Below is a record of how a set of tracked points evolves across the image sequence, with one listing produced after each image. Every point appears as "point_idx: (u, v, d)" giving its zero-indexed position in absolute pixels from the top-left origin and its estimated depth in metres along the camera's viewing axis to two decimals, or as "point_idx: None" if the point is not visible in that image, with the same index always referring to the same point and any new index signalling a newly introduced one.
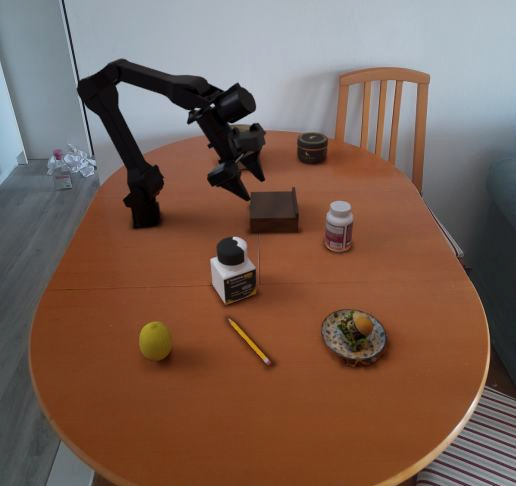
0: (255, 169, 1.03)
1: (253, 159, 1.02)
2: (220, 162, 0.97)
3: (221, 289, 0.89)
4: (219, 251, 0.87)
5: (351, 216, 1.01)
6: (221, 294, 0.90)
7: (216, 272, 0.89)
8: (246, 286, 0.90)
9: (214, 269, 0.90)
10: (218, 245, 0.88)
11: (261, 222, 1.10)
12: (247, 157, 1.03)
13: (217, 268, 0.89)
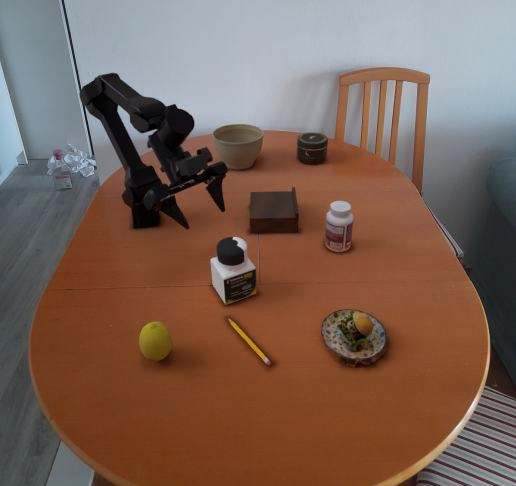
0: (216, 198, 0.96)
1: (214, 187, 0.95)
2: None
3: (221, 289, 0.89)
4: (219, 251, 0.87)
5: (351, 216, 1.01)
6: (221, 294, 0.90)
7: (216, 272, 0.89)
8: (246, 286, 0.90)
9: (214, 269, 0.90)
10: (218, 245, 0.88)
11: (261, 222, 1.10)
12: (210, 184, 0.96)
13: (217, 268, 0.89)
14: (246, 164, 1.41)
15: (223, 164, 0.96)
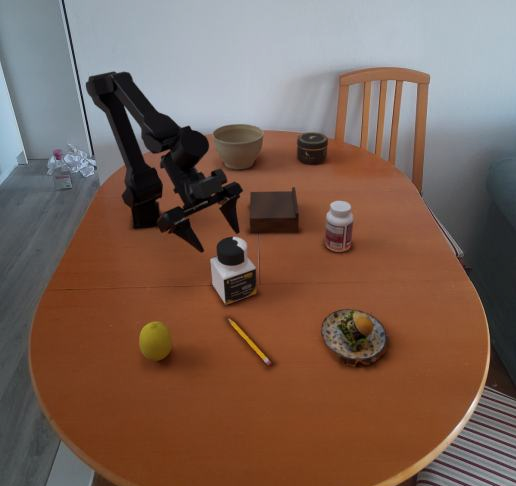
0: (230, 219, 0.94)
1: (228, 208, 0.94)
2: (184, 208, 0.92)
3: (221, 289, 0.89)
4: (219, 251, 0.87)
5: (351, 216, 1.01)
6: (221, 294, 0.90)
7: (216, 272, 0.89)
8: (246, 286, 0.90)
9: (214, 269, 0.90)
10: (218, 245, 0.88)
11: (261, 222, 1.10)
12: (223, 205, 0.95)
13: (217, 268, 0.89)
14: (246, 164, 1.41)
15: (237, 185, 0.94)
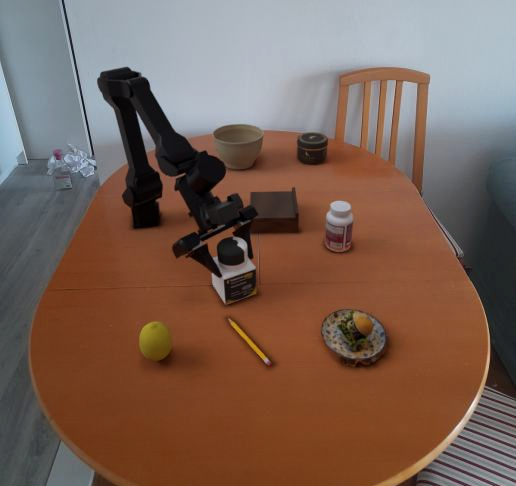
0: None
1: (241, 233, 0.92)
2: (199, 232, 0.91)
3: (221, 289, 0.89)
4: (219, 251, 0.87)
5: (351, 216, 1.01)
6: (221, 294, 0.90)
7: None
8: (246, 286, 0.90)
9: None
10: (218, 245, 0.88)
11: (261, 222, 1.10)
12: (237, 230, 0.93)
13: None
14: (246, 164, 1.41)
15: (253, 208, 0.93)
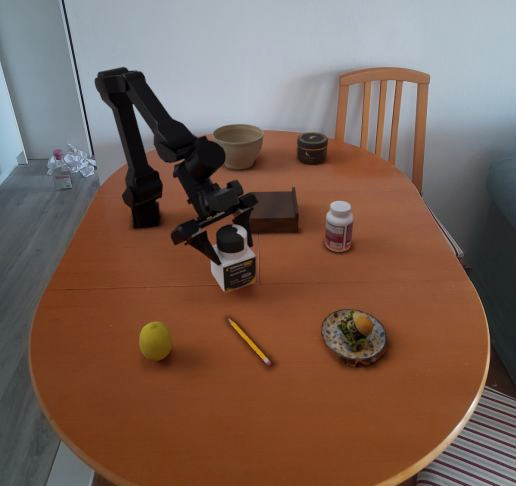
0: None
1: (241, 221, 0.91)
2: (198, 219, 0.90)
3: (220, 277, 0.88)
4: (218, 238, 0.85)
5: (351, 216, 1.01)
6: (220, 282, 0.89)
7: None
8: (246, 275, 0.89)
9: None
10: (217, 232, 0.86)
11: (261, 222, 1.10)
12: (236, 218, 0.92)
13: None
14: (246, 164, 1.41)
15: (252, 196, 0.91)
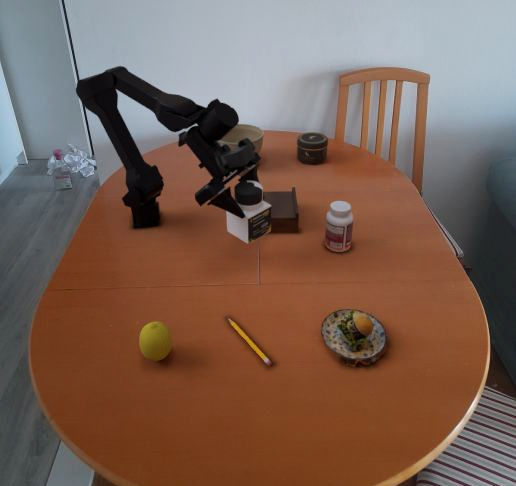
0: None
1: (250, 177, 0.98)
2: None
3: (243, 230, 0.95)
4: (240, 193, 0.92)
5: (351, 216, 1.01)
6: (242, 235, 0.96)
7: None
8: (264, 224, 0.97)
9: None
10: (236, 188, 0.93)
11: None
12: (244, 176, 0.99)
13: None
14: None
15: (256, 153, 1.00)
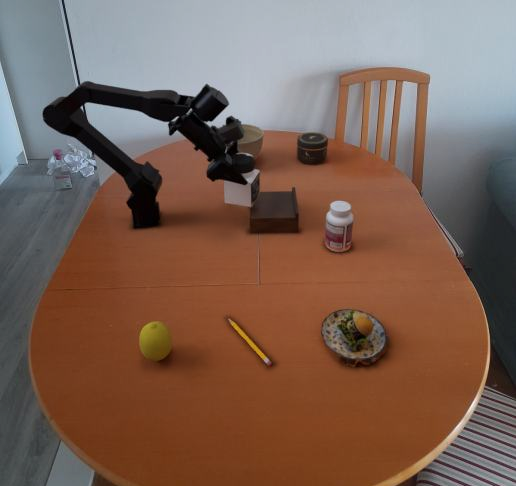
0: None
1: (234, 151, 1.11)
2: (210, 159, 1.05)
3: (245, 196, 1.08)
4: (239, 163, 1.05)
5: (351, 216, 1.01)
6: (244, 201, 1.09)
7: (236, 184, 1.07)
8: (257, 188, 1.12)
9: (232, 184, 1.07)
10: (234, 161, 1.06)
11: (261, 222, 1.10)
12: (228, 151, 1.12)
13: None
14: None
15: None
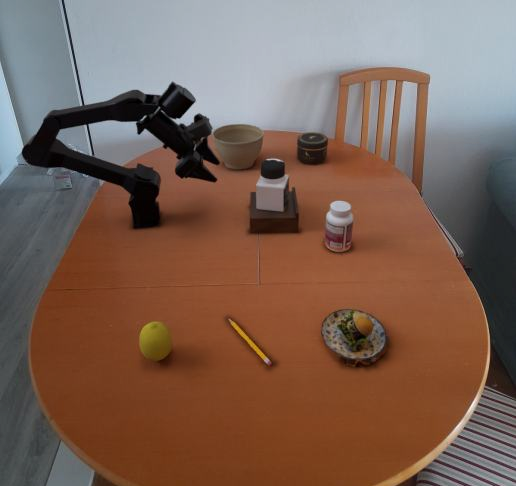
0: (208, 156, 1.14)
1: (204, 148, 1.13)
2: (179, 157, 1.06)
3: (277, 201, 1.10)
4: (272, 169, 1.07)
5: (351, 216, 1.01)
6: (276, 206, 1.11)
7: (269, 190, 1.09)
8: (287, 192, 1.14)
9: (264, 190, 1.09)
10: (266, 167, 1.07)
11: (261, 222, 1.10)
12: (198, 148, 1.13)
13: (270, 186, 1.08)
14: (246, 164, 1.41)
15: None
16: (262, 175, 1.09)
